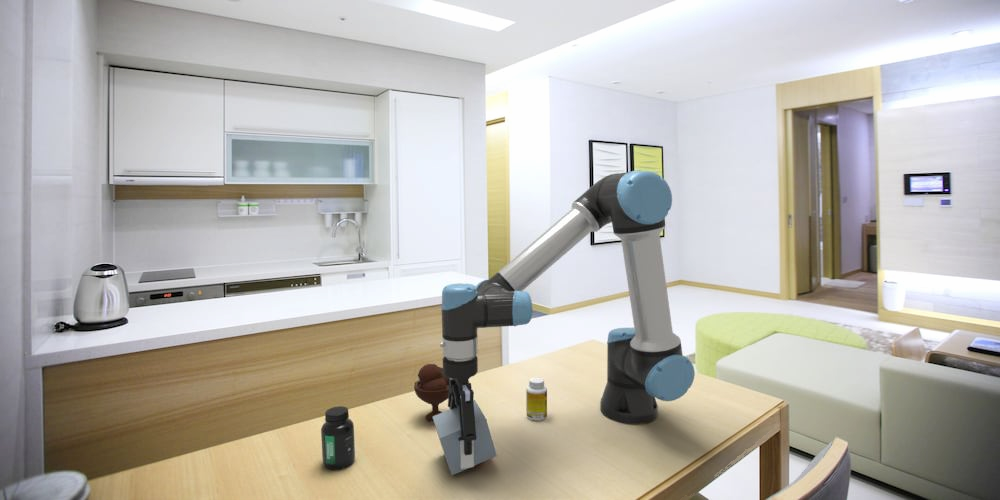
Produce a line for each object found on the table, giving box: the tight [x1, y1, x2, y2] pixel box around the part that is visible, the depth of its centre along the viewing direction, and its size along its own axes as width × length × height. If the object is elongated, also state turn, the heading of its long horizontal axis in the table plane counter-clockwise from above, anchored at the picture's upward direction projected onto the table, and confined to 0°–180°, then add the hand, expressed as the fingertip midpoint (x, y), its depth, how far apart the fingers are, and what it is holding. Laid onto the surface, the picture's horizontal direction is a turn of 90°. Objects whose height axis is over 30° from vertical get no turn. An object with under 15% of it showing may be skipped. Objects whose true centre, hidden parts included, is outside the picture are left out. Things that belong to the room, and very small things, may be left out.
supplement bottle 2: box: [525, 377, 548, 422], centre depth 124 cm, size 6×6×10 cm
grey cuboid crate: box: [433, 399, 498, 476], centre depth 102 cm, size 10×10×9 cm
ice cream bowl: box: [413, 363, 449, 423], centre depth 124 cm, size 11×11×15 cm
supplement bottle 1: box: [320, 405, 356, 471], centre depth 103 cm, size 7×7×12 cm
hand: (461, 453), depth 102 cm, fingers closed on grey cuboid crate, 10 cm apart
